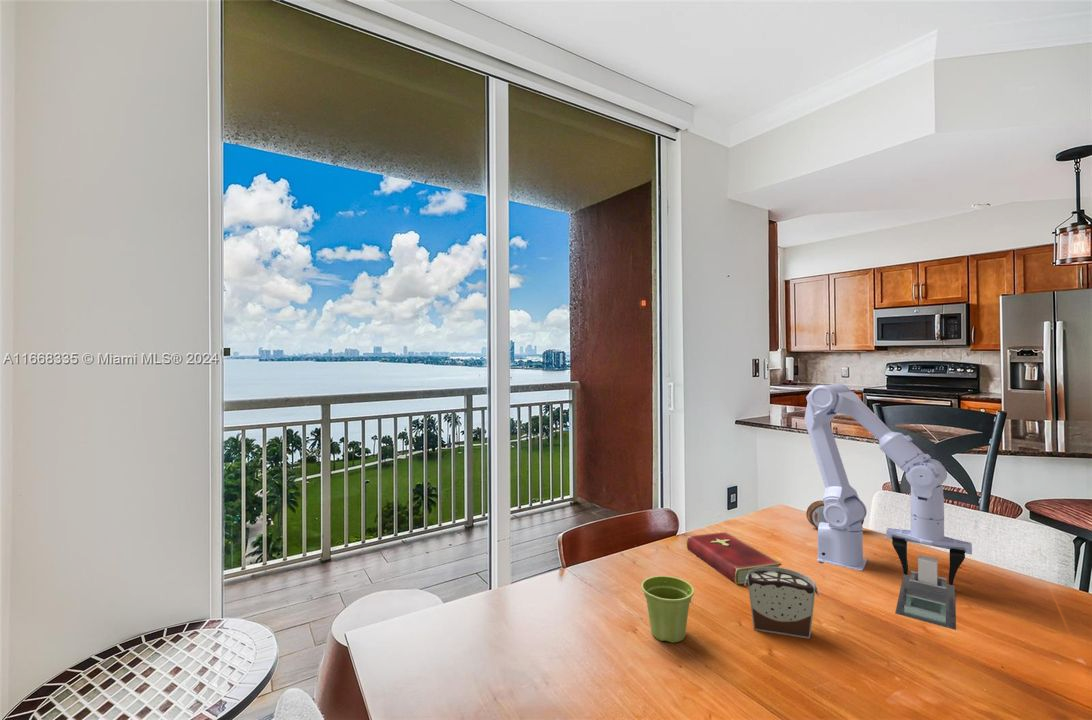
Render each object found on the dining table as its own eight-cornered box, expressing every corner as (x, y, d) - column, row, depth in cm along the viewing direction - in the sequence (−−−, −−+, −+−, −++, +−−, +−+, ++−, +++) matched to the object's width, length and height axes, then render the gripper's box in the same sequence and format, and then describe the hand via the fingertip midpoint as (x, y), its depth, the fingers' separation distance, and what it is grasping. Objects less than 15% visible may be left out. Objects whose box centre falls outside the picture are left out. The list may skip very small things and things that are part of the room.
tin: (860, 529, 140) (860, 501, 140) (866, 533, 137) (865, 504, 137) (805, 527, 142) (805, 499, 142) (810, 531, 139) (809, 502, 139)
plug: (918, 586, 104) (917, 559, 104) (919, 580, 107) (918, 554, 107) (937, 591, 102) (936, 563, 102) (937, 585, 105) (937, 557, 105)
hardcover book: (736, 587, 106) (736, 568, 106) (686, 550, 127) (686, 535, 127) (781, 580, 109) (781, 562, 109) (725, 546, 130) (725, 530, 130)
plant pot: (665, 655, 81) (665, 604, 82) (631, 627, 90) (631, 582, 90) (705, 640, 86) (705, 591, 86) (669, 615, 94) (669, 571, 94)
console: (895, 615, 93) (895, 605, 93) (903, 575, 110) (903, 567, 110) (955, 631, 87) (955, 621, 87) (954, 587, 104) (954, 578, 104)
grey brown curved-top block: (812, 622, 91) (811, 570, 91) (819, 640, 85) (818, 584, 85) (743, 611, 95) (742, 562, 95) (745, 628, 89) (744, 575, 89)
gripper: (884, 513, 106) (885, 575, 106) (972, 528, 96) (972, 595, 96) (887, 506, 111) (888, 564, 111) (971, 519, 102) (971, 582, 102)
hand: (927, 578), depth 104 cm, fingers open, 7 cm apart
